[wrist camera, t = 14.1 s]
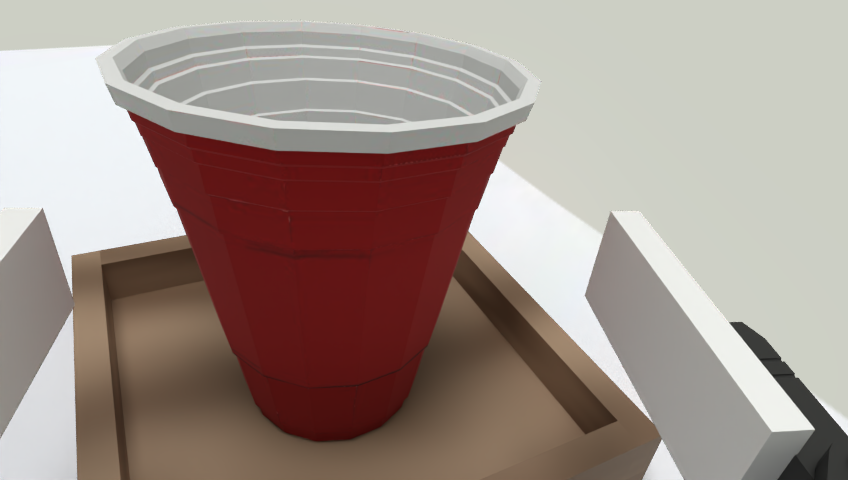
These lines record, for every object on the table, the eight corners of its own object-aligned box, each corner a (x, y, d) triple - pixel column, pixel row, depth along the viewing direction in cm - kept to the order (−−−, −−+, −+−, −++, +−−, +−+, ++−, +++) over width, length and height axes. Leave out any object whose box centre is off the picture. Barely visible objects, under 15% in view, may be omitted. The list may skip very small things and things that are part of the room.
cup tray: (86, 302, 24) (71, 255, 23) (426, 230, 31) (430, 191, 30) (109, 742, 13) (83, 701, 12) (641, 480, 20) (664, 434, 18)
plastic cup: (478, 294, 26) (526, 14, 19) (483, 530, 17) (578, 159, 10) (236, 269, 26) (200, -19, 19) (115, 490, 17) (-32, 97, 10)
